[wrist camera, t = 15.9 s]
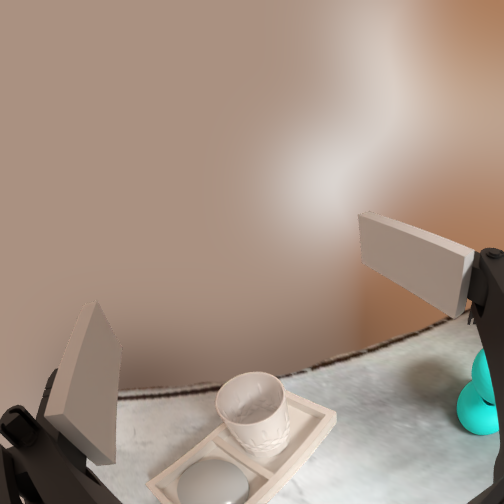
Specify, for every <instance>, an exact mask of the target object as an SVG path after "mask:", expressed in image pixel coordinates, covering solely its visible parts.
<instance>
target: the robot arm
mask: <svg viewBox="0 0 504 504" xmlns="http://www.w3.org/2000/svg"><path fill="white" fill-rule="evenodd" d="M358 219H359V230H360V241H361V258H362V263H363V264H365V265H366V266H368V267H370V268H371V269H373V270H375V271H377V272H378V273H380V274H382V275H383V276H385V277H387V278H388V279H390V280H392V281H393V282H395V283H397V284H398V285H400V286H402V287H403V288H405V289H407V290H408V291H410V292H412V293H413V294H415V295H417V296H418V297H420V298H421V299H423V300H425V301H426V302H428V303H429V304H431V305H433V306H434V307H436V308H437V309H439V310H440V311H442V312H443V313H445V314H447V315H448V316H450V317H451V318H453V319H454V320H455V319H456V318H457V317H458V316H459V315H461V314H462V313H463V312H464V311H465V306H466V302H467V298H468V299H469V300H471V301H472V305H471V309H470V313H469V318H468V325H470V322H471V319H472V318H474V322H473V324H476V325H477V329H478V332H479V335H480V338H481V342H482V345H483V349H484V353H485V356H486V360H487V364H488V368H489V373H490V377H491V382H492V387H493V392H494V397H495V403H496V410H497V417H498V424H499V434H500V450H499V453H498V456H497V458H496V461H495V465H494V479H493V484H492V485H491V486H490V487H489V488H487V489H486V490H485V491H483V492H482V493H481V494H479V495H478V496H477V497H475V498H474V499H472V500H471V501H469V502H468V503H467V504H504V252H503V251H502V250H499V249H496V248H485V249H483V250H481V252H480V253H478V252H476V251H474V250H473V249H470V248H468V247H466V246H463V245H461V244H458V243H456V242H453V241H451V240H448V239H446V238H443V237H440V236H438V235H435V234H433V233H430V232H427V231H425V230H422V229H419V228H417V227H414V226H411V225H408V224H406V223H403V222H400V221H397V220H394V219H391V218H388V217H385V216H382V215H379V214H376V213H373V212H370V211H369V212H365V213H362V214H359V215H358ZM121 356H122V346H121V344H120V342H119V341H118V339H117V337H116V335H115V334H114V332H113V330H112V328H111V326H110V324H109V322H108V320H107V318H106V317H105V315H104V313H103V311H102V309H101V307H100V305H99V303H98V300H96V301H93V302H90V303H87V304H84V305H83V307H82V309H81V312H80V314H79V317H78V318H77V321H76V323H75V326H74V328H73V331H72V333H71V336H70V338H69V341H68V343H67V346H66V348H65V351H64V354H63V357H62V359H61V362H60V365H59V368H58V369H55V370H54V371H53V373H52V374H51V376H50V377H49V379H48V381H47V384H46V387H45V389H46V390H44V393H43V398H42V400H41V403H40V406H39V410H38V413H37V416H36V420H35V419H34V418H33V417H32V416H31V414H30V413H29V412H28V411H27V410H26V409H25V408H24V407H23V406H21V405H16V406H13V407H11V408H9V409H8V410H7V411H6V412H5V413H4V414H3V416H2V418H1V419H0V433H1V434H2V435H3V436H4V437H5V438H6V439H7V440H8V441H9V442H10V443H11V444H12V445H13V447H10V448H8V449H5V448H4V447H3V446H2V445H1V444H0V504H23V503H22V501H21V499H20V496H21V497H22V498H24V501H25V504H122V503H121V502H120V501H119V500H118V499H117V498H116V497H115V496H114V495H113V494H112V493H111V491H110V490H109V489H108V488H107V487H106V486H105V485H104V484H103V483H102V482H101V481H100V480H99V478H98V477H97V476H96V475H95V474H94V473H93V472H92V471H91V470H90V469H89V468H88V467H86V459H87V458H88V459H89V460H90V461H92V462H93V463H94V464H95V465H97V466H100V465H110V464H116V415H117V398H118V384H119V374H120V364H121Z"/></svg>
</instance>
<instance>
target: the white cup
mask: <svg viewBox="0 0 504 504" xmlns="http://www.w3.org/2000/svg"><path fill="white" fill-rule="evenodd" d="M215 407H216V410H217V413H218V414H219V416H220V417H221V419H222V420H223V422H224V423H225V425H226V426H227V427H228V429H229V430H230V432H231V433H232V435H233V436H234V437H235V439H236V440H237V441H238V442H239V443H240V444H241V445H242V446H243V448H244V449H245V450H246V452H247V453H249V454H251V455H253V456H255V457H267V458H268V457H271V456H274V455H277V454H279V453H280V452H281V451H283V450H284V449H285V448H286V447H287V446H288V443H289V441H290V438H291V434H290V420H289V413H288V406H287V400H286V394H285V389H284V386H283V384H282V383H281V381H280V380H279V379H278V378H276V377H275V376H273V375H271V374H268V373H264V372H249V373H244V374H240V375H238V376H235V377H234V378H232V379H230V380H229V381H227V382H226V383H225V384H224V385H223V386H222V387H221V388H220V390H219V391H218V393H217V395H216V399H215Z"/></svg>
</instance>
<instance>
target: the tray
mask: <svg viewBox="0 0 504 504" xmlns="http://www.w3.org/2000/svg"><path fill="white" fill-rule="evenodd" d="M285 394H286V400H287V406H288V413H289V420H290V434H291V438H290V441H289V443H288V446H287V447H286V448H285V449H284V450H283V451H281V452H280V453H279V454H277V455H274V456H271V457H268V458H267V457H255V456H253V455H251V454H249V453H247V452H246V450H245V449H244V448H243V446H242V445H241V444H240V443H239V442H238V441H237V440H236V439H235V437H234V436H233V435H232V433H231V432H230V430H229V429H228V427H227V426H226V425H225V423H224V422H223V423H222V424H221V425H219V426H218V427H217V428H216V429H215V430H214V431H213V432H211V433H210V434H209V435H208V436H207V437H205V438H204V439H203V440H202V441H201V442H199V443H198V444H197V445H196V446H195V447H193V448H192V449H191V450H190V451H188V452H187V453H186V454H185V455H183V456H182V457H181V458H179V459H178V460H177V461H176V462H174V463H173V464H172V465H170V466H169V467H168V468H166V469H165V470H164V471H162V472H161V473H160V474H158V475H157V476H155V477H154V478H153V479H151V480H150V481H148V482H147V483H146V484H145V485H146V486H147V487H148V488H149V489H150V491H151V492H152V493H153V494H154V495H155V496H156V497H157V499H158V500H159V501H160V502H161V503H162V504H181V502H180V500H179V498H178V494H177V486H178V482H179V479H180V477H181V476H182V474H183V473H184V472H185V471H186V470H187V469H188V468H189V467H191V466H192V465H194V464H196V463H198V462H201V461H205V460H211V459H217V460H224V461H227V462H230V463H232V464H234V465H236V466H237V467H238V468H239V469H240V470H241V471H242V472H243V473H244V475H245V476H246V478H247V480H248V483H249V487H250V492H249V497H248V499H247V501H246V502H245V503H244V504H267V503H268V502H269V501H270V500H271V499H272V498H273V497H274V496H275V495H276V494H277V493H278V492H279V491H280V490H281V489H282V488H283V487H284V485H285V484H286V483H287V482H288V481H289V480H290V479H291V478H292V477H293V476H294V475H295V474H296V472H297V471H298V470H299V469H300V468H301V467H302V466H303V464H304V463H305V462H306V461H307V460H308V459H309V457H310V456H311V455H312V454H313V453H314V451H315V450H316V449H317V448H318V446H319V445H320V444H321V443H322V441H323V440H324V439H325V438H326V436H327V435H328V434H329V432H330V431H331V430H332V428H333V427H334V426H335V424H336V412H335V411H333V410H330V409H328V408H325V407H323V406H321V405H318V404H316V403H314V402H311V401H309V400H307V399H304V398H302V397H300V396H298V395H295V394H293V393H291V392H289V391H287V390H285Z"/></svg>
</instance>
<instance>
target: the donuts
mask: <svg viewBox="0 0 504 504" xmlns="http://www.w3.org/2000/svg"><path fill="white" fill-rule="evenodd" d="M482 398H483V399H484V400H486V401H487V402H489V403H491V404H494V406H489V405H487V404H485V403H484V402H483V400H482ZM457 414H458V418H459V420H460V422H461V424H462V425H463V426H464V427H465V428H466V429H467V430H468V431H470V432H472V433H474V434H477V435H489V434H493V433H495V432H497V431H499V424H498V417H497V410H496V403H495V397H494V392H493V387H492V382H491V377H490V373H489V368H488V364H487V360H486V356H485V353H484V349H481V351H480V352H479V353H478V354H477V356H476V358H475V360H474V362H473V366H472V381H471V382H469V383H468V384H467V385H466V386H465V387H464V388H463V390H462V391H461V393H460V395H459V398H458V401H457Z"/></svg>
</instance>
